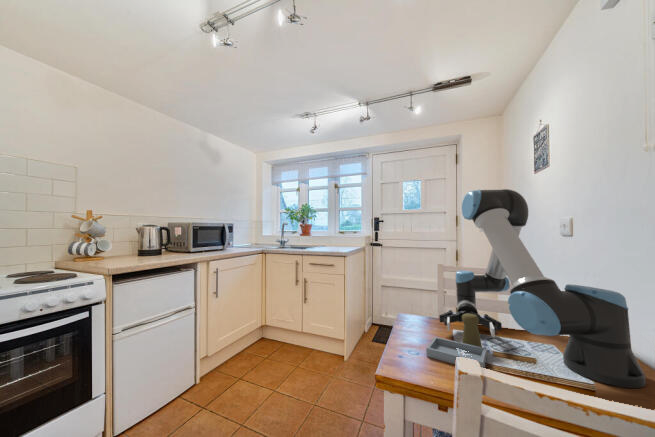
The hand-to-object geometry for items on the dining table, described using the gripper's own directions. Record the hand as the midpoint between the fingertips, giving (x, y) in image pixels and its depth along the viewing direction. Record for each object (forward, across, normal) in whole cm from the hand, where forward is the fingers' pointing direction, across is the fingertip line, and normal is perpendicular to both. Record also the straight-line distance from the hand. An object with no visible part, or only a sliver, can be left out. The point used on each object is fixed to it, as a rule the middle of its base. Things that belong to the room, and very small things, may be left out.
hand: (470, 329), depth 84 cm
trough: (+9, +4, -6) cm, 12 cm away
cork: (0, 0, -6) cm, 6 cm away
